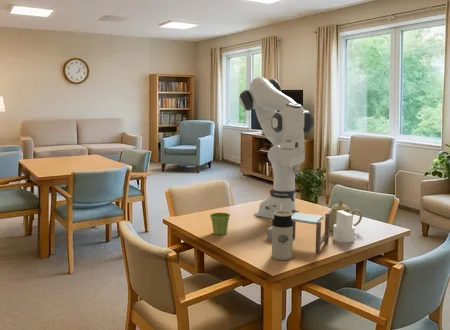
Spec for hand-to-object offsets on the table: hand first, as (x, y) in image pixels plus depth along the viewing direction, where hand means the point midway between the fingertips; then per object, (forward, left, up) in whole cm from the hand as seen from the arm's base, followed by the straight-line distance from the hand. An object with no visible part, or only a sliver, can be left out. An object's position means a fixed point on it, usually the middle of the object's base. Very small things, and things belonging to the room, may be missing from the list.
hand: (293, 175), depth 190 cm
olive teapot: (+16, +31, -30) cm, 46 cm away
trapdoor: (+4, 0, -19) cm, 20 cm away
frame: (+6, 0, -30) cm, 30 cm away
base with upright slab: (+19, +16, -30) cm, 39 cm away
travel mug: (+2, -18, -30) cm, 35 cm away
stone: (-9, +2, -30) cm, 31 cm away
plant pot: (-34, -1, -30) cm, 45 cm away
